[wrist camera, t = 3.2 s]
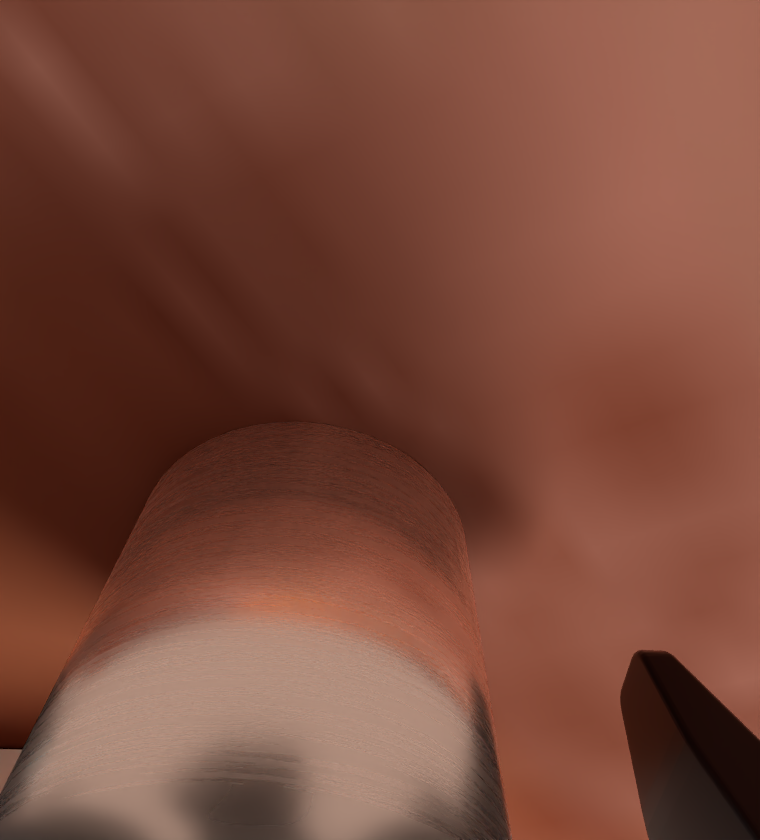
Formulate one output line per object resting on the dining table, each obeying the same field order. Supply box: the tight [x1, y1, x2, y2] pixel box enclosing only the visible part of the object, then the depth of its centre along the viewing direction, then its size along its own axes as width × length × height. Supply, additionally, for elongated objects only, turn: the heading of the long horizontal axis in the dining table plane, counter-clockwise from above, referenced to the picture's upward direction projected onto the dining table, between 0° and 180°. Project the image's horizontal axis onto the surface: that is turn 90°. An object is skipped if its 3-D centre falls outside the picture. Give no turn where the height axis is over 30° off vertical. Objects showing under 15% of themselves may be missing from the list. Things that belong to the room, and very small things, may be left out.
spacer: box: [0, 422, 512, 840], centre depth 8 cm, size 5×5×5 cm
